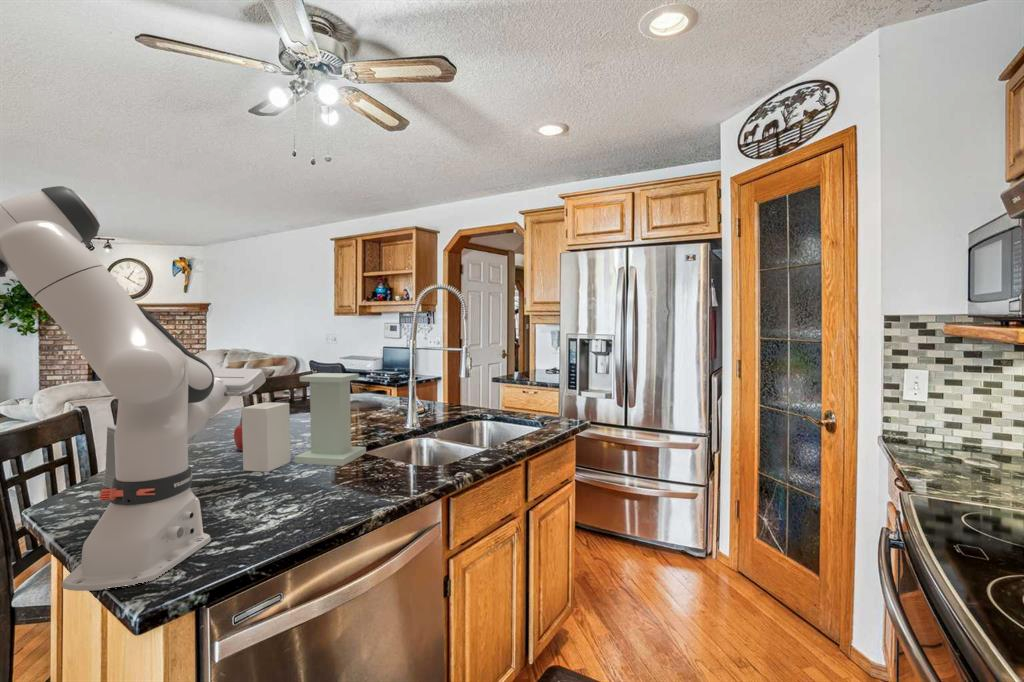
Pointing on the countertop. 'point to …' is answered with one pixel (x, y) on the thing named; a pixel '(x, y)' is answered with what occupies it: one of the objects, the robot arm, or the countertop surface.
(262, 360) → the bar
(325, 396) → the shelf stand
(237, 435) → the vegetable
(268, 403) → the rest block
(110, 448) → the skincare box
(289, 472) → the countertop surface
